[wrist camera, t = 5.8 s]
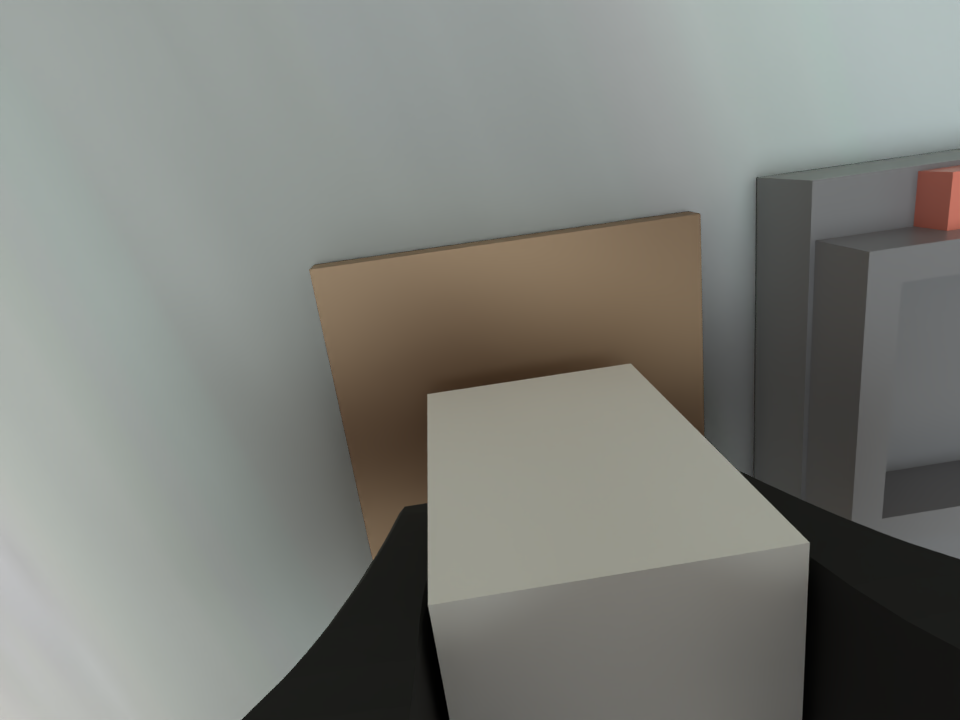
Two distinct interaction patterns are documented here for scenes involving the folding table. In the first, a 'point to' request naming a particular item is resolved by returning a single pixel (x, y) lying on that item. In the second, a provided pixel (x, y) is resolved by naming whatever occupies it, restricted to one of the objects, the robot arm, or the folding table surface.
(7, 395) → the folding table surface
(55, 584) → the folding table surface
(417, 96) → the folding table surface
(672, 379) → the walnut board
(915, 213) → the power strip
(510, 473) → the block
